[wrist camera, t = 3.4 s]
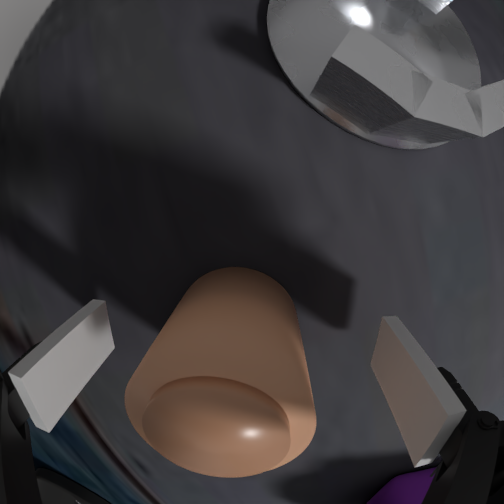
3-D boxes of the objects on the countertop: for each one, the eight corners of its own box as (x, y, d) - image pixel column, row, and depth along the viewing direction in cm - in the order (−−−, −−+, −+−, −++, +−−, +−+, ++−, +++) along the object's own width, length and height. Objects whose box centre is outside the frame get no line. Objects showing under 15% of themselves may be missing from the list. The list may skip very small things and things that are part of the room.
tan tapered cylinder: (183, 365, 15) (140, 472, 8) (175, 263, 14) (96, 349, 6) (291, 372, 15) (302, 488, 8) (302, 269, 14) (337, 369, 6)
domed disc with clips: (264, 135, 12) (263, 110, 7) (267, -51, 9) (267, -107, 4) (481, 168, 12) (545, 173, 7) (456, -5, 9) (495, -35, 4)
